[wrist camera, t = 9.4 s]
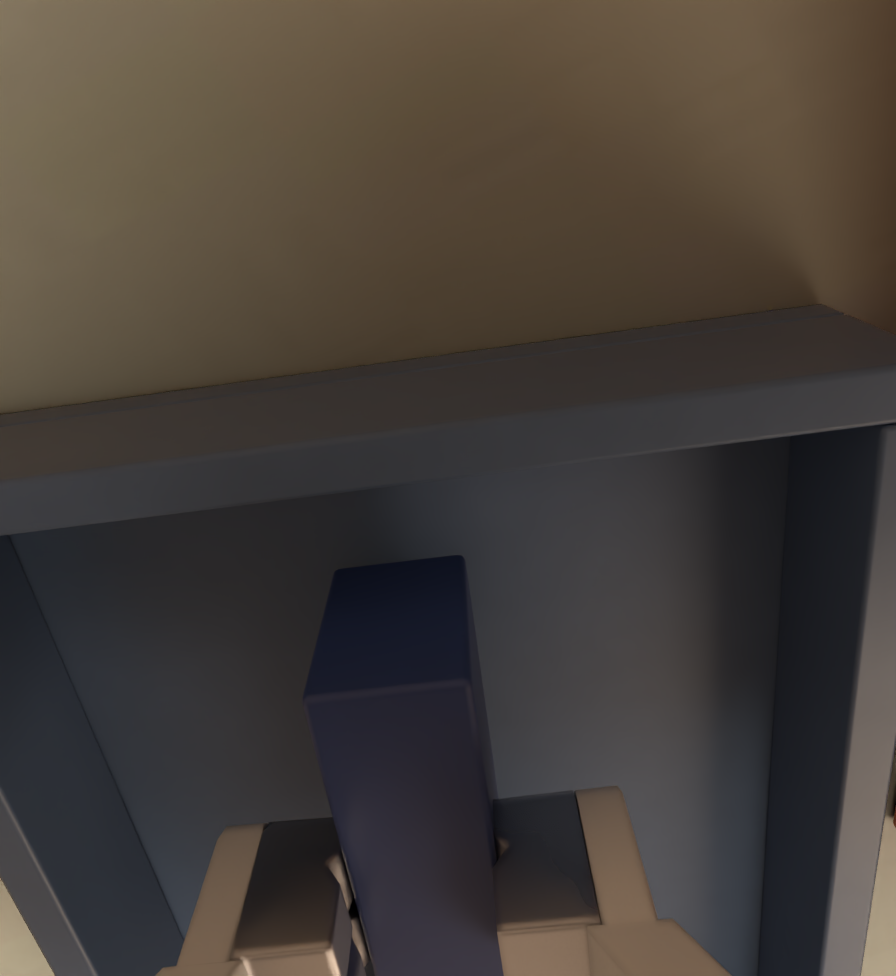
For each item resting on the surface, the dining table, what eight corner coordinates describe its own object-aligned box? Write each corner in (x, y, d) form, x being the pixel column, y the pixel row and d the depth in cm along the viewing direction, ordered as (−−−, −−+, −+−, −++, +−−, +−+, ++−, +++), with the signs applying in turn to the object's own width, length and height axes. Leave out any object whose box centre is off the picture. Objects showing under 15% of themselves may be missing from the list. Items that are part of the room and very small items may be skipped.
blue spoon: (219, 580, 9) (149, 717, 7) (581, 537, 9) (627, 664, 7) (377, 1106, 14) (365, 1286, 12) (616, 1086, 14) (649, 1265, 11)
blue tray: (-52, 420, 10) (-210, 509, 7) (824, 302, 9) (957, 357, 7) (239, 1085, 16) (205, 1247, 14) (769, 1039, 15) (828, 1200, 13)
